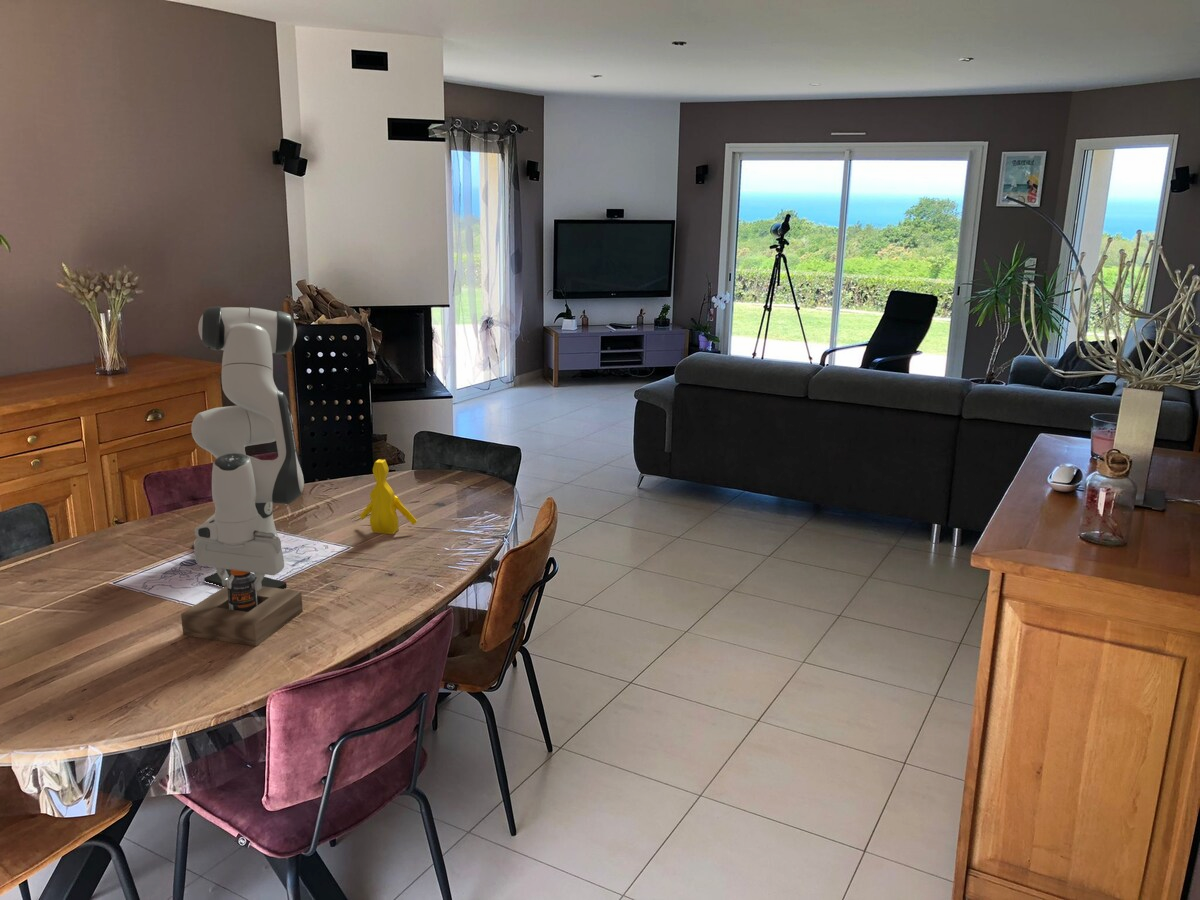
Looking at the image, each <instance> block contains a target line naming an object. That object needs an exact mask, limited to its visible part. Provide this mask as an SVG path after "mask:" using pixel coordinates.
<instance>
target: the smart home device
mask: <svg viewBox="0 0 1200 900" xmlns="http://www.w3.org/2000/svg"><path fill="white" fill-rule="evenodd" d="M226 571H227V573H228V575H229V576H230V575H231V570H230V569H226ZM255 578H257V577H255ZM203 581H206V582H209V583H213V584H216V585H219V586H222V579H221V578H220V577H219V575H218V574H217V572H215V573H212V574H210V575H207V576H205V577H204V578H203ZM261 584H262V586H264V587H272V588H279V589H284V588H285V589H287V588H288V587H287V582H285V581H282V580H278V579H275V578H272V577H271V578H270V577H268V576H264V578H263V580H262V581H261ZM222 587H225V586H222ZM222 587H221V588H222ZM286 587H287V588H286Z"/></svg>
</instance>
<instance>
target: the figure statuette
mask: <svg viewBox="0 0 1200 900" xmlns="http://www.w3.org/2000/svg"><path fill="white" fill-rule="evenodd" d="M389 470H390V469H389V466H388V464H387V461H386V459H377V460H376V461H375V462H374V464H373V467H372V474H373V477H374V479H375V481H376V484H375V486H374V487H373V488H372V490H371V491H370V493H369V496H370V497H369V498H370V502H369V504H368V505H367V506H366V507H365V509H364V510H363V511H362V512H361V514H360V515H359V517H360V519H361V520H364V519H365V518H366V517H367V516H368V515H370V517H369V524H370V528H371V531H372V532H373V533H374V534H383V535H384V534H385V535H394V534H395V533H396V532H398V531H399V530H400V528H399V518H398V514H397V511H399V512H400V513H401V514H402V515H403V516H404V517H405V518H406V520H408V521H409V523H411V525H413V526H414V525H415V524H416V523H418V520H417V519H416V518H415V516H414V515H413V514H412V513H411V512H410V511H409V509H407V508H406V507H405V505H404V504H403V503H402V502H401V500H400V498H399V497H398V496H397V495H395V492H394V490H393V489H392V487H391V486H390V485H389V483H388V481H387V477H388V474H389Z"/></svg>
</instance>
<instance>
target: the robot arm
mask: <svg viewBox="0 0 1200 900" xmlns="http://www.w3.org/2000/svg"><path fill="white" fill-rule="evenodd" d="M197 330H198V335H199V338H200V340H201V343H202V345H204V346H205V347H206V348H207V349H209V350H213V351H216V352H219V351H223V352H222V359H221V361H222V362H221V385H222V387H221V388H222V391H223V393H224V395H225V396H226V398H227V399H228V400H229V401H230V402H231V403H233V404H234V405H230V406H229V405H228V406H221V407H214V408H210V409H207V410H204V411H201V412H198V413H197V414H196V415H195V416H194V418H193V419H192V423H191V427H190V430H191V431H190V432H191V436H192V438H193V440H194V442H195V443H196V444H197V445H198V446H199V448H202V449H203V450H205V451H207V452H209V453H210V454H211V455H213V457H214V458H215V460H214V461H213V464H212V472H211V494H212V495H211V497H212V501H213V504H214V507H215V510H214V514H212V515H211V516H210V517H209V518H208V519H206V520H205V521H204V523H202V524H200V525H198V526H196V527H195V528H194V536H195V537H196V538H195V540H194V541H193V549H194V551H193V552H194V558H195V559H194V560H195V562H196V563H197V565H198V566H203V567H210V568H215V571H216V572H217V574H218V575H219V577H220V578H221V579H222V586H227V579H228V577H229V575H228V573H227V571H226V569H230V570H232V569H233V570H239V571H244V572H250V573H253V574H254V576H255V577H257V578H256V580H255V581H254V582H252V583H251V590H255V591H259V590H260V589H261V588H262V584H261V581H262V580H263V578H264V577H266V576H275V575H277V574H279V573H280V572H282V571H283V569H284V568H285V560H284V553H283V550H282V549H283V548H282V541H281V538H280V537H279V535H278V532H277V528H276V525H275V520H274V513H273V511H274V510H273V509H274V504H279V505H280V504H282V505H283V504H284V505H291V503H293V502H294V501H296V500H297V499H298V498H299V497H300V496H301V495H302V494H303V492H304V491H303V490H304V486H305V480H304V474H303V470H302V467H301V465H300V461H299V454H298V449H297V442H296V436H295V430H294V429H295V428H294V420H293V415H292V413H291V408H290V404H289V400H288V398H287V396H286V394H285V392H283V391H282V390H279V389H278V387H277V386H276V383H275V381H274V362H273V361H274V360H273V359H274V358H273V354H275V355H282V354H287V353H289V352H290V351H291V350H293V346H294V345H295V343H296V340H297V335H298V330H297V326H296V323H295V321H294V317H293V316H292V315H291V314H290V313H288V312H285V311H280V310H277V311H275V310H269V309H265V308H259V307H236V306H235V307H234V306H233V307H232V306H230V307H226V306H225V307H222V306H219V305H218V306H210V307H207V308H206V309H205V310H203V312H202V315H201V316H200V319H199V321H198V329H197ZM273 442H275V443H276V449H277V454H278V455H277V457H276V458H275V459H267V460H266V459H259V458H258V457H253V456H250V455H247V454H246V447H248V446H256V445H261V444H262V445H263V444H269V443H273ZM216 572H215V573H216Z"/></svg>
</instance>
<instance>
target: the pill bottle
mask: <svg viewBox="0 0 1200 900" xmlns="http://www.w3.org/2000/svg"><path fill="white" fill-rule="evenodd" d="M255 580H256V578H255V576H254V573H252V572H244V571H239V570H233V569H232V570H231V575H230V576H229V577H228V579H227V588H228V600H229V609H231V610H238V611H245V612H249V611H250V610H252V609H253V608H255V607H256V606H258V605H257V591H255V590H251V583H252V582H254V581H255Z"/></svg>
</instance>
